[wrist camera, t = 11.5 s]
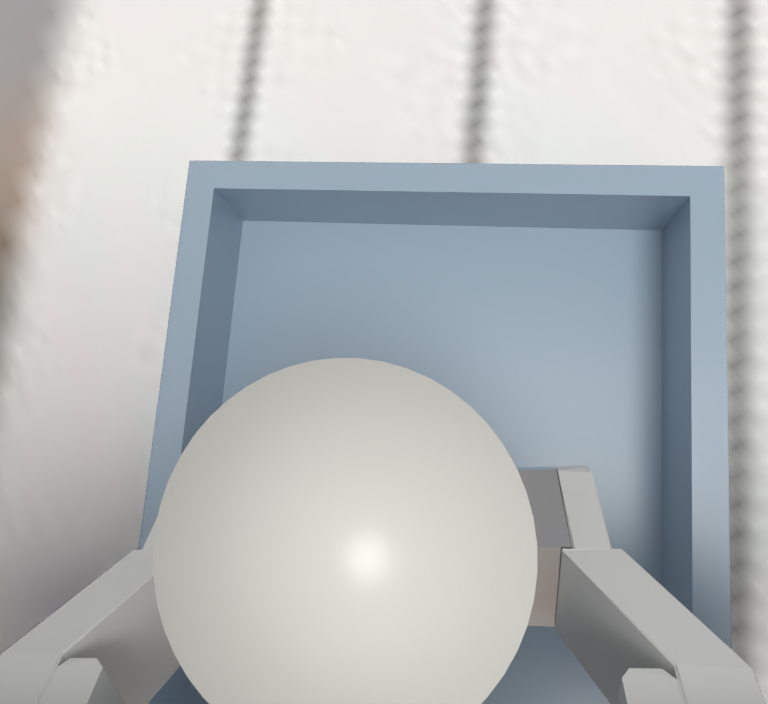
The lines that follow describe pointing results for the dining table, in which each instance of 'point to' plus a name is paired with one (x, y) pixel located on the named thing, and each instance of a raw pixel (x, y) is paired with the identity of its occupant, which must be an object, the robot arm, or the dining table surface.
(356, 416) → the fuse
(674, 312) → the parts tray
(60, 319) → the dining table surface
